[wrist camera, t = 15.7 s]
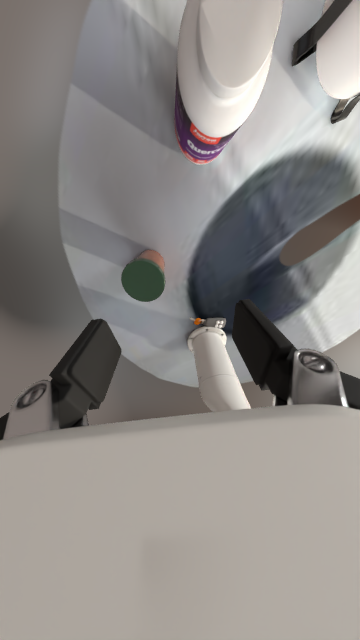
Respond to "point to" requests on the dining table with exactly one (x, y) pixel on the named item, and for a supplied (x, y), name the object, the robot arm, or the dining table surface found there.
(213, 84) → the pill bottle
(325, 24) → the coffee press
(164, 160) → the dining table surface
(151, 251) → the jar
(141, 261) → the lid
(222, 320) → the key chain
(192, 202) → the dining table surface
